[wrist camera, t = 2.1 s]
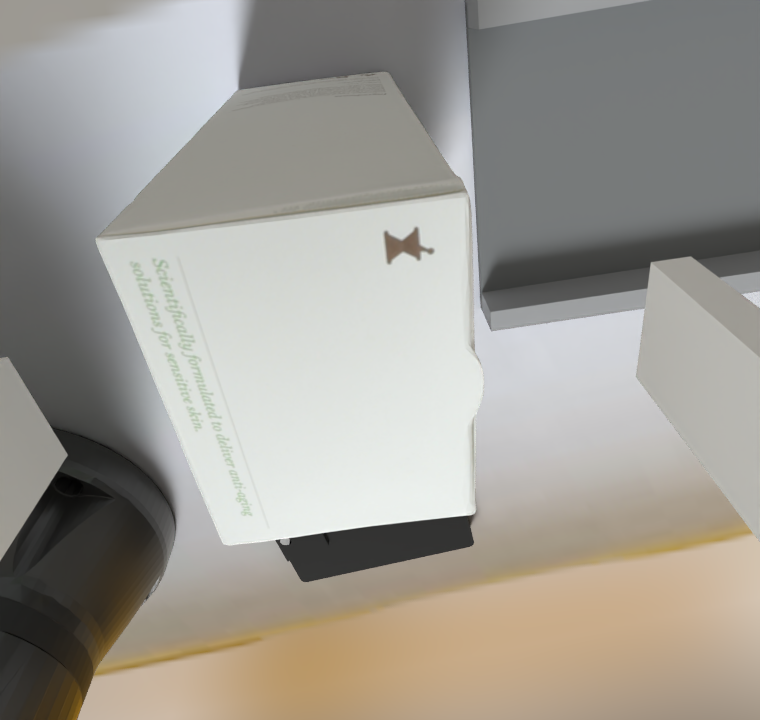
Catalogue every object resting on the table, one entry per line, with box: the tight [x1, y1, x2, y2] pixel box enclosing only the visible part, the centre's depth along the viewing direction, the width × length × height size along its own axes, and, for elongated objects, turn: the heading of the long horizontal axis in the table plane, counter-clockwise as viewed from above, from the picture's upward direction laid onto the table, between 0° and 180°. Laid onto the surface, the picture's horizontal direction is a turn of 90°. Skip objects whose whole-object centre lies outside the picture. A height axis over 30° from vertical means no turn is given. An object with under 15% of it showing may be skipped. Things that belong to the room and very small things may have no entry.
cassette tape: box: [276, 515, 474, 582], centre depth 32 cm, size 18×12×2 cm, turn 15°
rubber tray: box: [465, 0, 760, 331], centre depth 22 cm, size 22×13×2 cm, turn 98°
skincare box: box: [95, 72, 484, 545], centre depth 17 cm, size 8×7×16 cm
